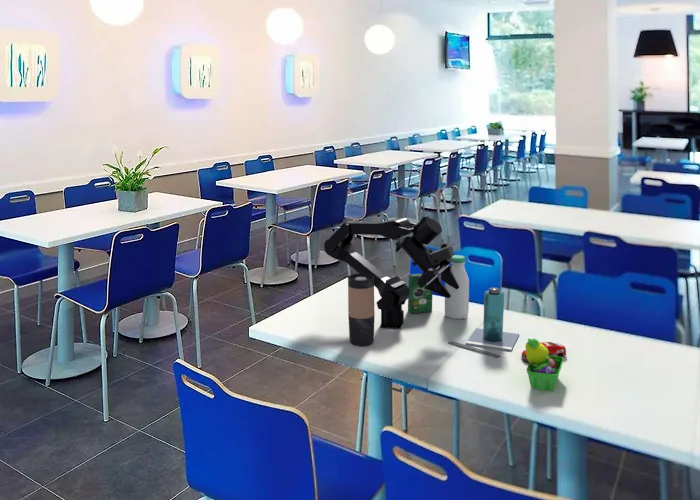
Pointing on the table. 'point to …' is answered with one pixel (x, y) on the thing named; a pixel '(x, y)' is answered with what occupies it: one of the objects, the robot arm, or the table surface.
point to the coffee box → (418, 296)
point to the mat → (505, 344)
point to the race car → (550, 350)
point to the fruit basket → (542, 366)
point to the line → (474, 349)
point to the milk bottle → (458, 291)
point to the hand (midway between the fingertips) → (454, 292)
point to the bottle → (493, 315)
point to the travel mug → (361, 309)
